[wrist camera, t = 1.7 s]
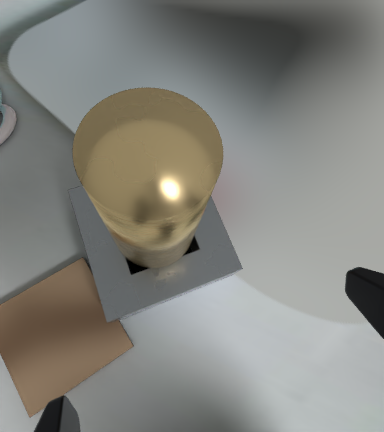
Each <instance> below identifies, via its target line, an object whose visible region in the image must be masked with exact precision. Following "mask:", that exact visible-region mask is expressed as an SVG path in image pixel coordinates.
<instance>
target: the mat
mask: <svg viewBox="0 0 384 432" xmlns="http://www.w3.org/2000/svg"><path fill="white" fill-rule="evenodd" d="M132 347H133V344H132V342H131V340H130V339H129V337H128V335H127V333H126V331H125V330H124V328H123V326H122V324H121V323H120V321H119V320H117V321H115V322H108V323H107V321H106V317H105V314H104V310H103V307H102V304H101V300H100V297H99V293H98V290H97V287H96V283H95V280H94V277H93V273H92V271H91V270H90V268H89V266H88V264H87V262H86V261H85V259H84V258H83V257H82V258H81V259H79V260H77V261H75V262H74V263H72V264H70V265H69V266H67V267H65V268H63V269H62V270H60V271H58V272H56V273H55V274H53V275H51V276H49V277H48V278H46V279H44V280H42V281H41V282H39V283H37V284H35V285H34V286H32V287H30V288H29V289H27V290H25V291H23V292H22V293H20V294H18V295H16V296H15V297H13V298H11V299H9V300H8V301H6V302H4V303H2V304H1V305H0V354H1V356H2V358H3V360H4V362H5V365H6V367H7V369H8V371H9V373H10V376H11V378H12V380H13V382H14V384H15V387H16V389H17V391H18V393H19V395H20V398H21V400H22V402H23V404H24V406H25V409H26V411H27V413H28V415H29V417H32V416H33V415H35V414H36V413H38V412H39V411H40V410H42V409H43V408H45V407H46V405H47V404H48V402H49V401H51V400H53V399H55V398H58V397H60V396H62V395H64V394H65V393H67V392H68V391H69V390H71V389H72V388H74V387H75V386H77V385H78V384H80V383H81V382H82V381H84V380H85V379H87V378H88V377H90V376H91V375H93V374H94V373H95V372H97V371H98V370H100V369H101V368H103V367H104V366H106V365H107V364H108V363H110V362H111V361H113V360H114V359H116V358H117V357H119V356H120V355H121V354H123V353H124V352H126V351H127V350H129V349H130V348H132Z"/></svg>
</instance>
